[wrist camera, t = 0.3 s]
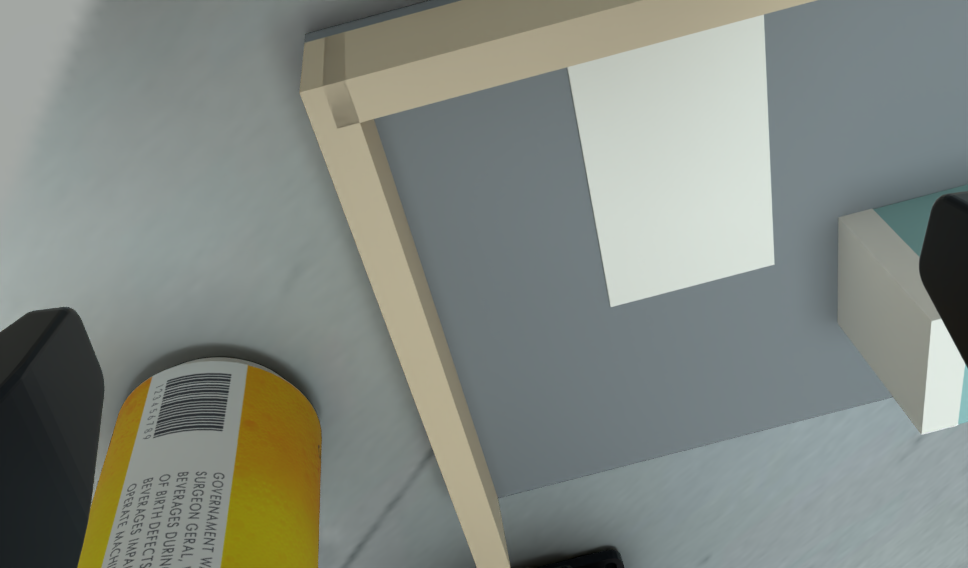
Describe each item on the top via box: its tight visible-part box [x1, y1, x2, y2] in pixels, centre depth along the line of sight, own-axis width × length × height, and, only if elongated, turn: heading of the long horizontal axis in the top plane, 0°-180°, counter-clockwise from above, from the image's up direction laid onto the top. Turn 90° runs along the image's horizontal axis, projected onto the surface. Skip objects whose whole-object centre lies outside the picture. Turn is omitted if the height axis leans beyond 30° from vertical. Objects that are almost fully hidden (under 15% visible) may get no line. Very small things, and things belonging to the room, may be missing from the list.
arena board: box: [299, 0, 968, 568], centre depth 25 cm, size 17×20×4 cm
